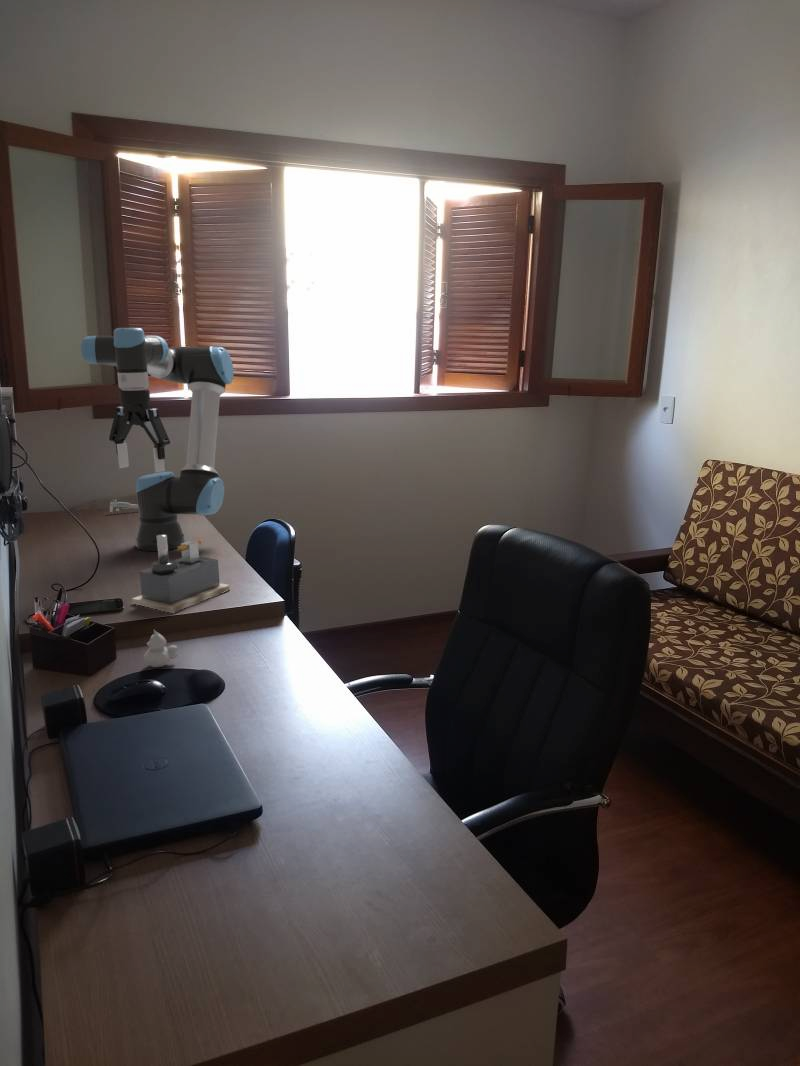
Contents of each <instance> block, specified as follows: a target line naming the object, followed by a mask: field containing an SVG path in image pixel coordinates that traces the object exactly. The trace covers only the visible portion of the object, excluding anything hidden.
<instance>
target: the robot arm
mask: <svg viewBox="0 0 800 1066" xmlns="http://www.w3.org/2000/svg"><path fill="white" fill-rule="evenodd" d="M144 331H145V330H143V328H141V327H117V328H115V329H114V330H113V335H88V336H85V337H84V338H83V339H82V341H81V343H80V353H81V356H82V359H83V360H84V361H85V362H86V364H90V365H97V366H99V365H106V366H112V367H116V373H117V383H118V388H119V389H120V390H119V392H118V393H119V402H120V405H122V406H114V416H113V421H112V424H111V429H110V432H109V437H108V439H109V441H110V442H113V443H114V444H115V450H116V455H117V460H118V468H119V469H124V468H128V467H130V462H129V453H128V452H129V451H128V443H127V441H126V439H127V436H128V435H129V433H130V432H131V429H132V427H133V426H140V427H141V428H142V429H143V430H144V432H145V433H146V435H148V437H149V439H150V440H151V442H152V443H153V447H152V453H153V464H154V472H155V473H151V474H146V475H142V476H140V477H138V478H137V479H136V484H135V486H136V490H135V493H136V500H137V505H138V517H139V519H138V520H139V523H138V524H139V525H138V530H137V534H136V535H137V536H136V538H135V547H137V548H136V549H138V550H141V551H144V552H145V551H148V552H158V546H157V535H161V534H165V535H167V544H168V551H169V550H174V549H177V548H178V546H181V543H184V542H186V537H185V534H184V532H183V530H182V527H181V524H180V523H179V520H178V515H197V516H204V515H205V516H208V515H209V516H211V515H214V514H216V513H217V512H218V511H219V510H220V508H221V507H222V504H223V500H224V498H225V497H224V496H225V483H224V481H223V480H222V479H221V478H219V472H218V471H217V470H216V469H215V464H216V463H215V462H216V461H215V460H216V452H217V451H216V450H217V449H216V448H217V437H218V436H217V435H218V427H219V426H218V425H219V414H220V411H219V409H220V401H221V399H220V398H221V395H222V394H224V393H225V392H226V386H227V385H231V384H232V382H233V379H234V366H233V361H232V358H231V356H230V353H229V352H228V350H227V349H226V348H224V347H222V346H213V345H210V346H177V347H176V346H175V347H169V345H168V343H167V341H166V340H165V339H164V338H162V337H161V336H158V335H155V334H148V335H145V332H144ZM149 376H151V377H152V378H156V379H159V380H164V381H168V382H170V383H171V382H172V383H176V384H184V385H185V384H187V387H188V389H189V391H191V392H192V396H191V405H190V414H189V416H190V417H189V428H188V438H187V439H188V440H187V442H188V443H187V450H186V451H187V452H186V463H185V466H184V467H182V469H180V476H178V477H176V475H175V473H174V472H173V471H166V468H165V458H166V455H165V454H166V453H165V452H166V451H165V447H166V446H167V445H170V444H171V441H170V439H169V436H168V433H167V431H166V429H165V427H164V425H163V422H162V420H161V417H160V412H159V409H158V408H156V407H154V408H149V404H151V394H150V393H151V392H150V390H149V389H148V388H149V387H150V383H149V381H150V380H149Z"/></svg>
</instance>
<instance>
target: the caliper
mask: <svg viewBox="0 0 800 1066" xmlns="http://www.w3.org/2000/svg"><path fill="white" fill-rule="evenodd" d="M114 508H115V511H118V512H120V510H121V509H122V510H126V511H130V509H136V510H137V509H138V504H132V503H130V502H125V501H124V502H123V501H117V499H113V498H112V500H111V501H110V503H109V513H110V512H112V513H113V511H114Z"/></svg>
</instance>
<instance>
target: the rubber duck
mask: <svg viewBox="0 0 800 1066" xmlns="http://www.w3.org/2000/svg"><path fill="white" fill-rule="evenodd" d="M146 645H147V646H148V649H147V651H146V652H145V653H144V654H143V660H144V662H145V663H146V664H147V665H149V666H150V667H152V668H161V667H162V668H163V667H165V666H166V665H167V664H168V663H170V661H171V660H173V659H177V658H178V653H177V652H178V646H177V645H174V644H172V645H168V646H166V645H167V640H166V637H164V635H162V634H161V633H160V632H158V631H156V630H155V629H153V633H152V635H151V636H150V638H149V641H148V642H146Z"/></svg>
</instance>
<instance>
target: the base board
mask: <svg viewBox="0 0 800 1066" xmlns="http://www.w3.org/2000/svg"><path fill="white" fill-rule="evenodd" d="M230 589H231V587H230V584H227V583H226V584H225V583H221V582H220V586H217V587H215V588H212V589H210V590H207V591H204V592H202V593H199V594H197V595H194V596H192V597H189V598H187V599H184V600H181V601H179V602H176V603H174V604H171V605H170V604H166V603H161V602H157V601H153V600H148V599H144V598H142V594H141V595H137V596H136V597H132V598H131V603H132V605H134V604H137V605H136V606H138V605H142V606H146V607H150V608H154V609H153V610H155V609H158V610H157V611H159V610H162V611H161V612H163V611H167V612H171V613H173V612H176V611H178V612H180V611H179V610H181V609H183V608H186V607H188V606H190V607H192V606H191V605H193V604H195V605H197V604H196V603H198V602H200V603H202V602H201V601H203V600H205V601H207V600H206V599H208V598H210V599H212V598H211V597H213V596H215V597H216V595H218V594H220V593H222V592H224V591H226V590H230ZM222 594H223V593H222ZM220 595H221V594H220ZM218 596H219V595H218ZM213 598H214V597H213ZM208 600H209V599H208ZM203 602H204V601H203ZM198 604H199V603H198ZM142 606H141V607H142ZM193 606H194V605H193ZM146 607H145V608H146ZM150 608H149V609H150ZM188 608H189V607H188ZM186 609H187V608H186ZM183 610H184V609H183ZM181 611H182V610H181ZM167 612H166V613H167ZM171 613H170V614H171ZM176 613H177V612H176ZM173 614H174V613H173Z"/></svg>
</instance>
